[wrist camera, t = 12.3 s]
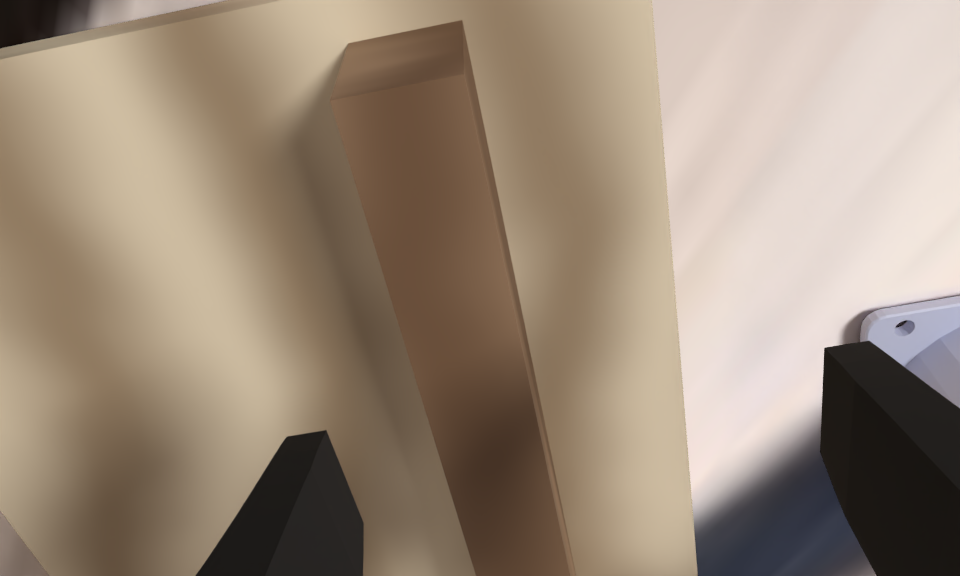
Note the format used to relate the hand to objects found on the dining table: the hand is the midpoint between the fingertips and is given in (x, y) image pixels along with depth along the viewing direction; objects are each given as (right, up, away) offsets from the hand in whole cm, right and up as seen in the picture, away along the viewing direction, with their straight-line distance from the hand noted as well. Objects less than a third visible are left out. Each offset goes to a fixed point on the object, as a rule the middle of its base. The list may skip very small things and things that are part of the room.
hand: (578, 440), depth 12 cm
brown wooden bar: (-1, 0, +10) cm, 10 cm away
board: (-5, -5, +14) cm, 16 cm away
